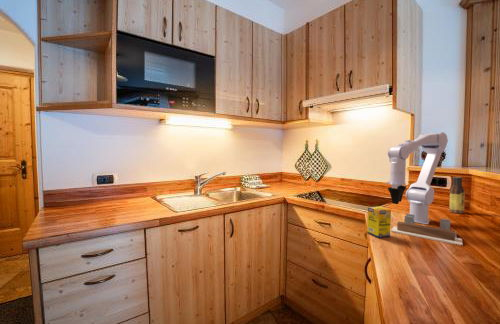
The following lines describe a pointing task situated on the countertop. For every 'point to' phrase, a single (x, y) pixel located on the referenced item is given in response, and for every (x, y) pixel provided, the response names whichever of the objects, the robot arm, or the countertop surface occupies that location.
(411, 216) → the rack
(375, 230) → the supplement box
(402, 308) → the countertop surface
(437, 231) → the rail
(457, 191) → the sauce bottle
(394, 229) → the mat
